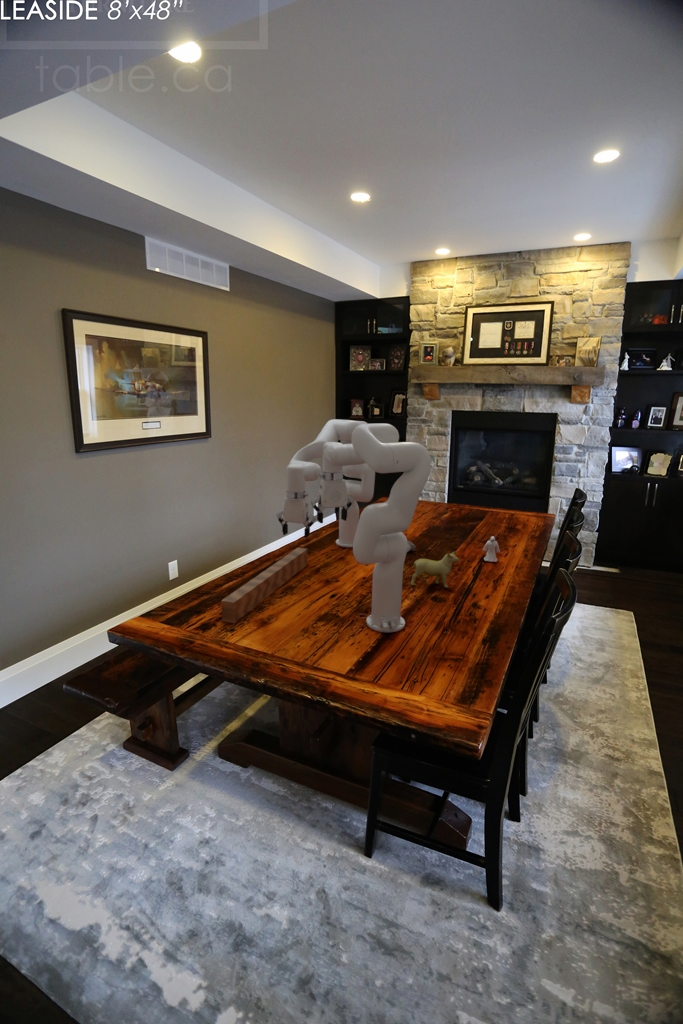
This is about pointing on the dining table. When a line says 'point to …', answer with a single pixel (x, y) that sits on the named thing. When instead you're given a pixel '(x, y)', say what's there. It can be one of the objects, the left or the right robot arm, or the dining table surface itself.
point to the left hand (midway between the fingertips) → (296, 535)
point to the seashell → (410, 546)
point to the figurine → (491, 550)
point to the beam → (263, 585)
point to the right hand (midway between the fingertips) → (332, 521)
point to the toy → (434, 568)
